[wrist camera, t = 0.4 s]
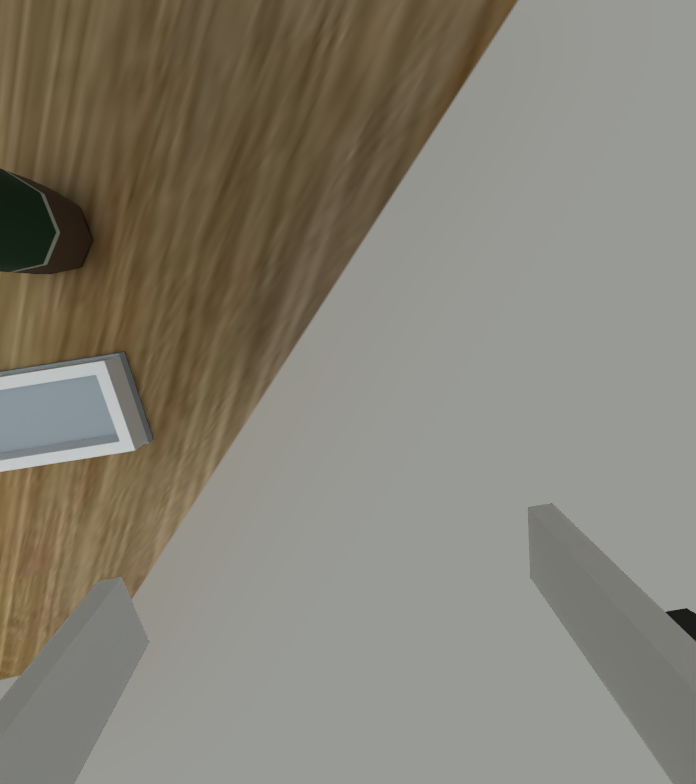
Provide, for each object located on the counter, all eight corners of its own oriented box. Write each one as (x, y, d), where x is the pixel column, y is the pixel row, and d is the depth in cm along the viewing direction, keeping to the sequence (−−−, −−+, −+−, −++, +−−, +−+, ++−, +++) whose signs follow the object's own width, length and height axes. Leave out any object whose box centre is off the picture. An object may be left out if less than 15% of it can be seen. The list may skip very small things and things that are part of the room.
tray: (-102, 387, 37) (-147, 397, 33) (124, 351, 36) (103, 357, 33) (-58, 472, 39) (-95, 489, 36) (153, 439, 39) (136, 453, 36)
